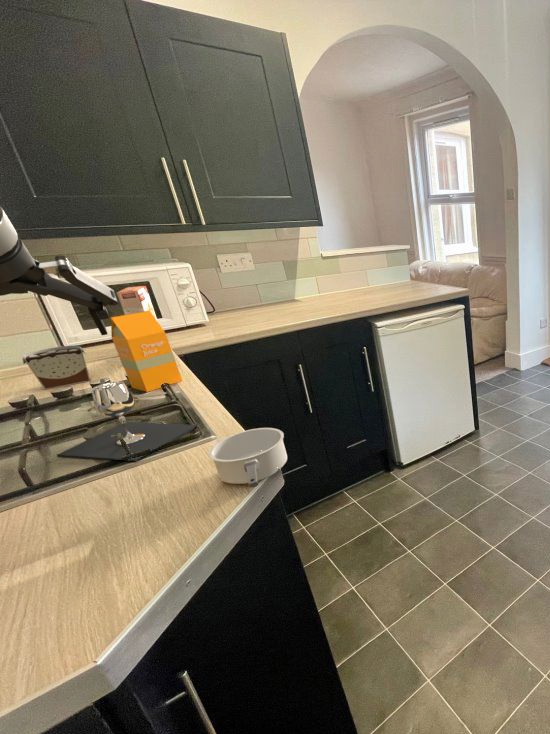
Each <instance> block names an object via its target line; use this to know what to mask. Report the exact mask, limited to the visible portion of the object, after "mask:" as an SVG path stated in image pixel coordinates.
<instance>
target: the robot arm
mask: <svg viewBox="0 0 550 734" xmlns="http://www.w3.org/2000/svg"><path fill="white" fill-rule="evenodd" d="M50 274H53V275H55V276H57V278H55V277H52V276H51V275H50ZM61 279H64V281H63V280H61ZM29 292H30V293H34V294H37V295H40V296H43V297H47V296H51V297H55V298H57V299H61V300H63V301H67V302H70V303H74V304H77V305H80V306H83V307H86V308H87V309H88V310H87V311H88V313H89V315H90V317H91V318H92V321H93V322H94V324H95V325H96V327H97V328H98V331H99V333H100V335H101V336H107V335H108V331H107V328H106V325H105V322H104V320H109V319H110V315H109V312H108V311H109V310H108V309H107V307H106V306H116V305H118V304H119V301H118V298H117V295H116V293H115V290H114V289H113V288H111V287H109V286H108V285H106V284H104V283H103V282H101V281H99V280H98V279H96V278H94V277H93V276H91V275H89V274H88V273H85V272H84V271H83V270H81V269H80V268H78V267H76V266H74V265H73V264H72V263H71V261H70V260H69V259H68V257H67V256H65V255H61V254H60V255H55V256H54V260H53V261H45V262H40V261H38V260H37V259H35V258H34V257H33V256H32V255H31V253H30V251H29V250H28V248H27V247H26V244H25V243H24V241H23V240H22V239H21V237H20V235H19V234H18V233H17V230H16V228H15V227H14V225H13V224H12V222H11V220H10V219H9V217H8V215H7V214H6V212H5V211H4V209H3V208H2V206H0V297H1V296H6V295H23V294H29Z"/></svg>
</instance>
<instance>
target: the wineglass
mask: <svg viewBox="0 0 550 734" xmlns="http://www.w3.org/2000/svg"><path fill="white" fill-rule="evenodd" d="M91 393H92V400H93V404H94V406H95V409H96V410H97V411H98V412H99V413H100V414H101V415H103V416H106V417H118V421H119V422H120V423H121V424H123V426H124V428H125V430H126V433H127V435H126V436H125V437H123V439H124V441H125V442H126V444H129V443H133V442H136V441H138V440H140V439H142V438H143V437H144V436H145V435H144V434H141V433H138V434H131V433H130V432H129V430H128V427H127V424H126V422H127V418H126V417H125V416H124V415H126V414H128V413H129V412H131V411H132V410H133V409H134V407H135V398H134V395H133V394H132V391H131V390H130V389H129V387H128V386H127V385H126V383H125V382H123V381H110V382H105V383H101V384H99V385H96V386H93V387H92V388H91ZM117 444H119V445H122V444H121V442H120V440H118V441H117Z"/></svg>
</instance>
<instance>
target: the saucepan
mask: <svg viewBox="0 0 550 734" xmlns="http://www.w3.org/2000/svg"><path fill="white" fill-rule="evenodd" d="M284 435H285V433H284V432H283V431H282V430H280V429H278V428H274V427H258V428H252V429H247V430H244V431H239V432H237V433H234V434H232V435H229V436H227V437H225V438H222V439H221V440H220V441H218V442H216V443H215V444H214V445H212V446H211V448H210V449H209V451H208V456H209V458H210V459H212V460H213V463H214V465H215V468H216V470H217V474H218V476H219V479H220V480H221V481H222V482H225V483H227V484H235V485H237V484H240V485H244V484H245V485H247V484H248V487H249V488H257V486H258V485H259V482H260V481H263V480H264V479H267V478H269V477H271V476H272V475H274V474H275V473H276V472H278V471H279V470H280V469H282V468H283V467H284V465H286V463H287V462H288V454H287V450H286V447H285V443H284V438H285V436H284ZM261 450H262V451H261ZM277 467H278V468H279V470H278V468H277Z"/></svg>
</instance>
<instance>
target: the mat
mask: <svg viewBox="0 0 550 734" xmlns="http://www.w3.org/2000/svg"><path fill="white" fill-rule="evenodd" d="M126 424H127V427H128V430H129V432H130V433H131V434H138V433H141V434H144V435H145V436H144V437H143V438H142V439H140V440H138V441H136V442H133V443H129V444H127V445H128V447H129V449H130V452H131V453H136V452H139V451H143V450H147V449H150V450H151V451H152V449H153V450H154V449H156V448H158V447H159V446H161V445H164V444H166V443H168V442H170V441H172V442H174V441H176V440H178V439H179V438H181V437H183V436H184V435H187V434H188V433H190V432H192V431H193V430H195V429H196V428H195V427H196V426H197V427H198V425H196V424H179V423H163V422H161V423H160V422H143V421H141V422H140V421H126ZM194 428H195V429H194ZM118 433H121V434H122V435H123V437H125V436H126V435H127V433H126V430H125V428H124V426H123V424H122V423H121V424H119V425H117V426H115V427H113V428H110V429H108V430H106V431H104V432H102V433H100V434H98V435H96V436H93V437H90V438H89V439H87V440H85V441H82V442H81V443H79V444H76V445H74V446H73V447H70V448H67V449H66V450H64V451H62V452H61V451H60V453H57V454H56V456H57V457H58V458H71V459H72V458H73V459H83V460H84V459H85V460H99V461H112V460H115V459H121V458H122V457H123V456H125V455H126V454H127V452H126V451H125V449H124V448H123V447H122V445H119V444H117V441H118V440H119V439H118V438H117V436H116V437H111V435H113V434H114V435H117V434H118ZM175 439H176V440H175ZM173 440H174V441H173ZM141 457H142V456H140V457H136V458H131V459H128V460H130V461H137V460H138V459H139V458H141ZM137 462H138V461H137Z"/></svg>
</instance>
